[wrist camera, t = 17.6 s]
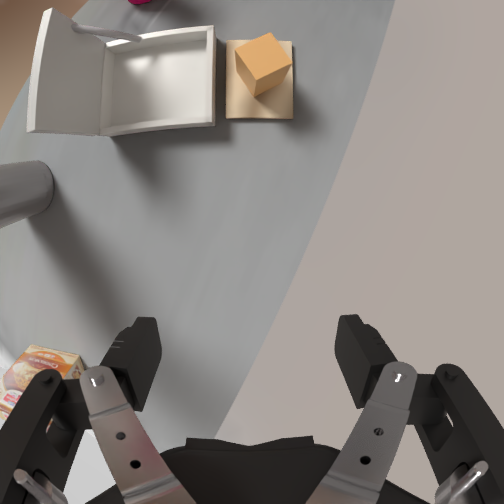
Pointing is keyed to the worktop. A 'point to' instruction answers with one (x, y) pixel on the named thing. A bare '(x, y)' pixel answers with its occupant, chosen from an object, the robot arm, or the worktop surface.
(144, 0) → the pepper mill
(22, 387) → the coffeecake box
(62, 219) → the worktop surface
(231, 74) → the board
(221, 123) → the worktop surface
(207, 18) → the worktop surface
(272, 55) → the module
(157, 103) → the equipment case
